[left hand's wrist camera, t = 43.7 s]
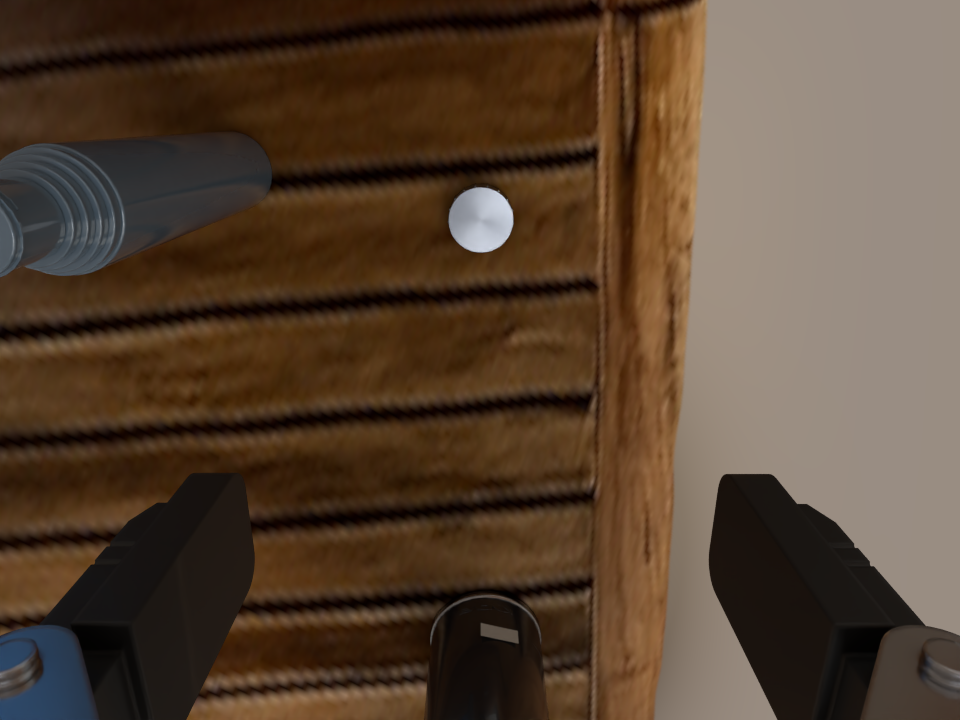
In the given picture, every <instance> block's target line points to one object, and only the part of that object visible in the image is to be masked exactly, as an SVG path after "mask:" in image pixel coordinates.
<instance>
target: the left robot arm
mask: <svg viewBox="0 0 960 720" xmlns="http://www.w3.org/2000/svg"><path fill="white" fill-rule="evenodd" d="M254 562H255V555H254V545H253V538H252V531H251V524H250V517H249V509H248V502H247V495H246V488H245V483H244V480H243V478H242V476H241V475H240V474H239V473H192V474H191V475H190V476H189V477H188V478H187V479H186V480H185V481H184V483H183V484H182V485H181V486H180V488H179V489H178V490H177V491H176V493H175V494H174V495H173V496H172V498H171V499H170V500H169V501H168V503H156V504H155V505H153V506H152V507H150V508H148V509H147V510H145V511H144V512H142V513H141V514H139V515H137V516H136V517H134V518H133V519H131V520H130V521H128V523H127V524H126V525H125V526H124V527H123V528H122V530H121V531H120V532H119V533H118V534H117V535H116V537H115V538H114V539H113V540H112V541H111V545H110V547H106V548H105V549H104V550H103V552H102V553H101V554H100V555H99V556H98V557H97V559H96V560H95V564H94V565H90V567H89V568H88V569H87V570H86V571H85V572H84V574H83V575H82V576H81V577H80V578H79V579H78V581H77V582H76V583H75V584H74V585H73V586H72V587H71V589H70V590H69V591H68V592H67V593H66V594H65V596H64V597H63V598H62V599H61V600H60V601H59V603H58V604H57V605H56V606H55V607H54V608H53V609H52V611H51V612H50V613H49V614H48V615H47V616H46V618H45V619H44V620H43V621H42V622H41V623H40V625H39V626H31V627H26V628H22V629H18V630H15V631H12V632H9V633H6V634H4V635H1V636H0V720H186V719H187V717H188V715H189V713H190V711H191V709H192V707H193V704H194V702H195V700H196V698H197V696H198V694H199V692H200V690H201V688H202V686H203V684H204V682H205V680H206V678H207V676H208V674H209V671H210V669H211V667H212V665H213V663H214V661H215V659H216V657H217V655H218V653H219V651H220V649H221V647H222V645H223V643H224V641H225V639H226V636H227V634H228V632H229V630H230V628H231V626H232V624H233V622H234V620H235V618H236V616H237V614H238V612H239V610H240V608H241V606H242V604H243V601H244V599H245V597H246V595H247V593H248V591H249V589H250V586H251V582H252V578H253V573H254ZM709 570H710V577H711V582H712V586H713V588H714V591H715V593H716V596H717V598H718V600H719V602H720V604H721V606H722V608H723V610H724V612H725V614H726V616H727V618H728V620H729V622H730V624H731V626H732V628H733V630H734V632H735V634H736V636H737V638H738V640H739V642H740V644H741V646H742V648H743V650H744V653H745V655H746V657H747V659H748V661H749V663H750V665H751V667H752V669H753V671H754V673H755V675H756V677H757V679H758V681H759V683H760V685H761V687H762V689H763V691H764V693H765V695H766V697H767V699H768V701H769V703H770V705H771V707H772V709H773V712H774V714H775V716H776V718H777V720H960V636H959V635H956V634H954V633H951V632H948V631H945V630H942V629H938V628H934V627H928V626H925V625H924V623H923V622H922V621H921V620H920V619H919V618H918V617H917V615H916V614H915V613H914V612H913V611H912V610H911V608H910V607H909V606H908V605H907V604H906V603H905V602H904V600H903V599H902V598H901V597H900V596H899V595H898V594H897V592H896V591H895V590H894V589H893V588H892V587H891V586H890V584H889V583H888V582H887V581H886V580H885V579H884V577H883V576H882V575H881V574H880V573H879V572H878V571H877V569H876V568H875V567H874V566H870V561H869V560H868V559H867V558H866V557H865V556H864V555H863V553H862V552H861V551H860V550H859V549H858V548H855V547H854V543H853V542H852V541H851V540H850V538H849V537H848V536H847V535H846V534H845V533H844V532H843V530H842V529H841V528H840V527H839V526H838V525H837V524H836V523H835V522H834V521H832V520H831V519H829V518H828V517H826V516H825V515H823V514H822V513H820V512H818V511H817V510H815V509H814V508H812V507H811V506H809V505H807V504H797V503H796V502H795V501H794V500H793V499H792V497H791V496H790V495H789V494H788V492H787V491H786V490H785V489H784V488H783V486H782V485H781V484H780V483H779V481H778V480H777V479H776V478H775V477H774V476H773V475H771V474H725V475H724V476H723V477H722V478H721V480H720V483H719V487H718V493H717V500H716V508H715V515H714V522H713V529H712V536H711V543H710V550H709ZM430 643H431V650H430V661H429V669H428V680H427V691H426V703H425V714H424V720H549V714H548V706H547V697H546V688H545V679H544V670H543V660H542V651H541V632H540V626H539V623H538V620H537V618H536V616H535V615H534V613H533V612H532V611H531V609H530V608H529V607H528V606H527V605H526V604H524V603H523V602H522V601H520V600H518V599H517V598H515V597H513V596H510V595H507V594H504V593H500V592H494V591H478V592H472V593H468V594H464V595H462V596H459V597H457V598H455V599H453V600H452V601H450V602H449V603H447V604H446V605H445V606H444V607H443V608H442V609H441V610H440V611H439V613H438V614H437V616H436V617H435V619H434V622H433V624H432V628H431V637H430Z"/></svg>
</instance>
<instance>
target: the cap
mask: <svg viewBox="0 0 960 720" xmlns="http://www.w3.org/2000/svg"><path fill="white" fill-rule="evenodd" d="M449 210H450V212H449V218H448V223H449V228H450V231H451V234H452V236H453V237H454V239H455V240H456V241H457V243H458V244H459V245H461V246H462V247H463V248H465V249H467V250H469V251H472V252H478V253H484V252H489V251H492V250H495V249H497V248H498V247H500V246H501V245H502V244H503V243H504V242H505V241H506V240H507V239H508V237H509V235H510V233H511V231H512V227H513V224H514V222H513V209H512V207H511V206H510V203H509V201H508V198H507V196H505V195H504V194H503V193H502V192H501V191H500V190H499V188H498V189H497V188H495V187H493V186H491V185H488V184H475V185H471V186H469V187H466V188H464V189H463V190H462V191H461V192H460V193H459V194H458V195H457V196H455V198H454V201H453V202H452V205H451V206H450V208H449Z"/></svg>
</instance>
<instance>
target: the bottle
mask: <svg viewBox="0 0 960 720" xmlns="http://www.w3.org/2000/svg"><path fill="white" fill-rule="evenodd" d="M271 181H272V169H271V165H270V162H269V159H268V157H267V155H266V153H265V151H264V150H263V149H262V147H261V146H260V145H259V144H258V143H257V142H256V141H255V140H253V139H252V138H250V137H249V136H247V135H245V134H242V133H239V132H234V131H220V132H205V133H189V134H174V135H159V136H144V137H129V138H114V139H99V140H83V141H68V142H53V143H40V144H33V145H29V146H26V147H23V148H21V149H19V150H17V151H15V152H13V153H10V154H9V155H7V156H6V157H4V158H3V159H2V160H1V161H0V277H2V276H5V275H8V274H9V273H10V272H12V271H13V270H15V269H18V268H21V267H24V266H25V267H27V268H31V269H34V270H38V271H41V272H44V273H48V274H52V275H59V276H70V275H84V274H88V273H92V272H95V271H97V270H99V269H102V268H104V267H107V266H109V265H112V264H114V263H117V262H119V261H122V260H124V259H126V258H129V257H131V256H134V255H136V254H139V253H141V252H144V251H146V250H149V249H151V248H153V247H156V246H158V245H161V244H163V243H166V242H168V241H171V240H173V239H176V238H178V237H180V236H183V235H185V234H188V233H190V232H193V231H195V230H198V229H200V228H202V227H205V226H207V225H210V224H212V223H215V222H217V221H220V220H222V219H225V218H227V217H229V216H232V215H234V214H237V213H239V212H242V211H244V210H247V209H249V208H251V207H254V206H256V205H257V204H259V203H260V202H261V201H262V200H263V199H264V198H265V196H266V195H267V193H268V191H269V189H270V186H271Z"/></svg>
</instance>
